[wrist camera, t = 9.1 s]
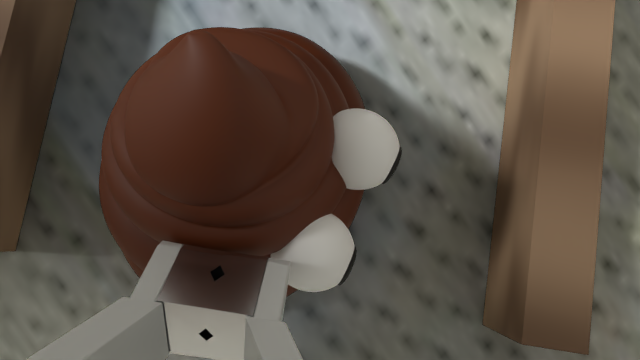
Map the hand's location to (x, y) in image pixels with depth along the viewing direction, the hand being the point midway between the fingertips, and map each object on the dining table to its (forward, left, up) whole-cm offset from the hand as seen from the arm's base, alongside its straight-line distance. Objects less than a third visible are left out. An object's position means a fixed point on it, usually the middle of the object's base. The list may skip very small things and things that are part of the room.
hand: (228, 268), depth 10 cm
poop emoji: (+2, +2, -6) cm, 7 cm away
